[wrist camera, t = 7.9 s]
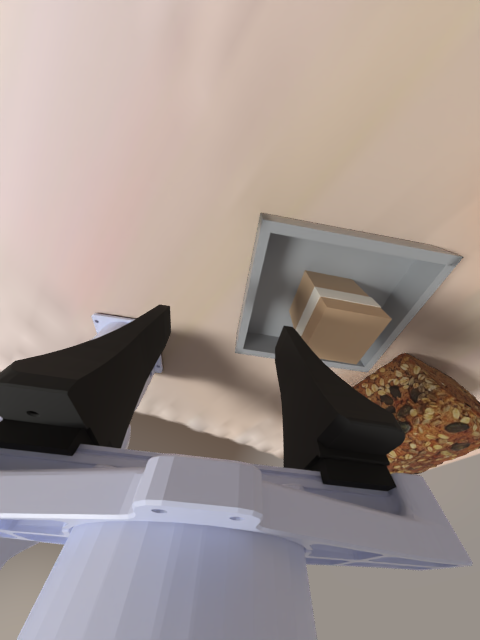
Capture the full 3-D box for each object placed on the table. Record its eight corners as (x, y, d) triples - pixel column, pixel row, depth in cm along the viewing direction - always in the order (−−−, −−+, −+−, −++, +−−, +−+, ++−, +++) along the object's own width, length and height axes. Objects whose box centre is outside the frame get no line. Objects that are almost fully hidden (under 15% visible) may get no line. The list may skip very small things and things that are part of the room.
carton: (330, 318, 23) (356, 364, 17) (288, 311, 23) (300, 355, 17) (352, 278, 20) (393, 318, 14) (304, 269, 20) (326, 306, 14)
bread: (353, 427, 38) (380, 494, 30) (309, 411, 36) (326, 480, 27) (454, 374, 28) (535, 452, 20) (404, 346, 26) (475, 423, 18)
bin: (355, 351, 26) (367, 372, 24) (236, 333, 25) (235, 352, 23) (430, 244, 18) (463, 256, 15) (260, 212, 17) (262, 219, 14)
